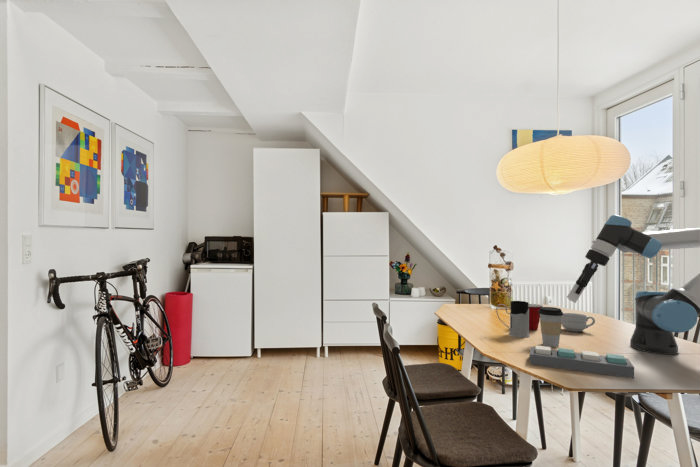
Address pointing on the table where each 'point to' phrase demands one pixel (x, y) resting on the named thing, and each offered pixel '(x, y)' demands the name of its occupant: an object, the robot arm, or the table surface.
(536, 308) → the plastic cup
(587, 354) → the white key
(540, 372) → the table surface
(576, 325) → the teacup
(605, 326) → the table surface
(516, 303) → the grey and black mug
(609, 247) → the robot arm
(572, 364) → the keyboard
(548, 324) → the coffee cup
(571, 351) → the teal key
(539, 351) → the white key
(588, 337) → the table surface
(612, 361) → the teal key
